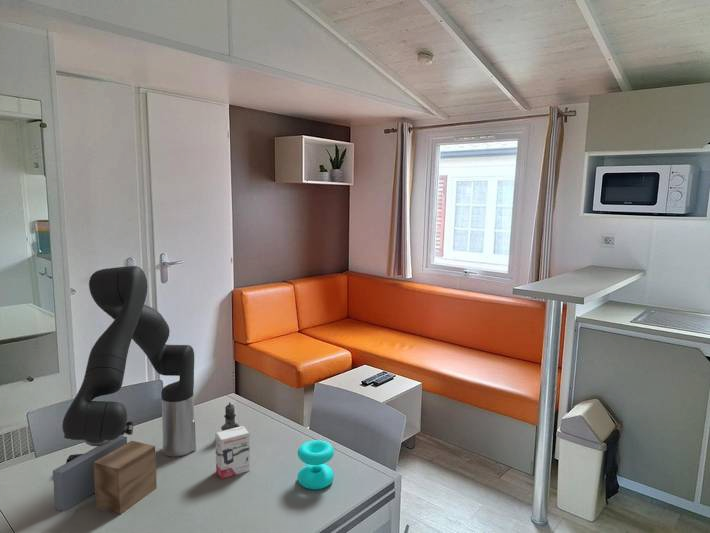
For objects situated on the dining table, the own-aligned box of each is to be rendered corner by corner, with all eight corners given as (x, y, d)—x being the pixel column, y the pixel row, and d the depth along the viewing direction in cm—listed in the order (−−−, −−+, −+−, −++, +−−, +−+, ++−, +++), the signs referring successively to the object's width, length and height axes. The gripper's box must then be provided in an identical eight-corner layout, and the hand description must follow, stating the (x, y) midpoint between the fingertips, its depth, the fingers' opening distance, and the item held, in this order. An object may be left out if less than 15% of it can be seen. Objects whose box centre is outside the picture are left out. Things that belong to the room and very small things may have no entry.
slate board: (128, 470, 135) (126, 436, 134) (63, 511, 116) (61, 473, 115) (120, 467, 136) (118, 434, 135) (55, 508, 117) (52, 470, 116)
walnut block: (156, 488, 126) (155, 445, 125) (120, 515, 115) (118, 468, 114) (133, 482, 129) (131, 440, 128) (95, 507, 118) (93, 462, 116)
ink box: (221, 479, 131) (220, 439, 129) (215, 471, 135) (214, 432, 133) (250, 470, 135) (250, 431, 134) (244, 463, 139) (243, 425, 138)
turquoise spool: (317, 434, 137) (341, 446, 130) (317, 467, 138) (341, 481, 131) (290, 446, 130) (314, 460, 123) (290, 481, 131) (314, 496, 124)
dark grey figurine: (219, 434, 157) (219, 400, 155) (237, 431, 159) (237, 397, 158) (222, 442, 151) (222, 407, 150) (241, 439, 154) (240, 404, 152)
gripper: (135, 407, 108) (133, 415, 121) (63, 410, 102) (69, 418, 115) (132, 442, 105) (131, 446, 118) (58, 448, 99) (65, 450, 112)
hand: (100, 432), depth 117 cm, fingers open, 8 cm apart
